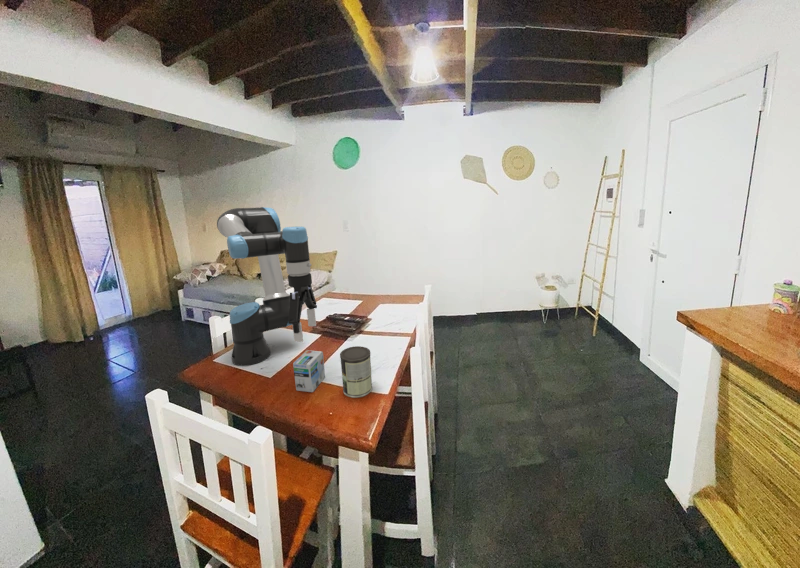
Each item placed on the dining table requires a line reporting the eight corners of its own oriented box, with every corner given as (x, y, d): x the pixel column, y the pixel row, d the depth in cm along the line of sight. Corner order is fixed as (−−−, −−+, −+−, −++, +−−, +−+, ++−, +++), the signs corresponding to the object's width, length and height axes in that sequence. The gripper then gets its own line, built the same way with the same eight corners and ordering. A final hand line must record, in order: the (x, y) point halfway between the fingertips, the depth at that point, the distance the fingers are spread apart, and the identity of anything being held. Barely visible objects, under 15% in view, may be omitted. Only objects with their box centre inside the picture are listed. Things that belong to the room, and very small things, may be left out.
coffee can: (336, 391, 109) (333, 355, 106) (356, 378, 117) (354, 343, 114) (358, 401, 103) (356, 363, 100) (378, 386, 111) (376, 350, 108)
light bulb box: (313, 392, 109) (310, 364, 106) (295, 391, 110) (291, 363, 108) (326, 376, 119) (323, 350, 116) (309, 375, 120) (306, 349, 118)
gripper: (296, 282, 92) (303, 348, 97) (321, 266, 116) (326, 320, 121) (271, 282, 92) (280, 348, 98) (301, 266, 117) (307, 320, 122)
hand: (306, 333), depth 109 cm, fingers open, 13 cm apart
